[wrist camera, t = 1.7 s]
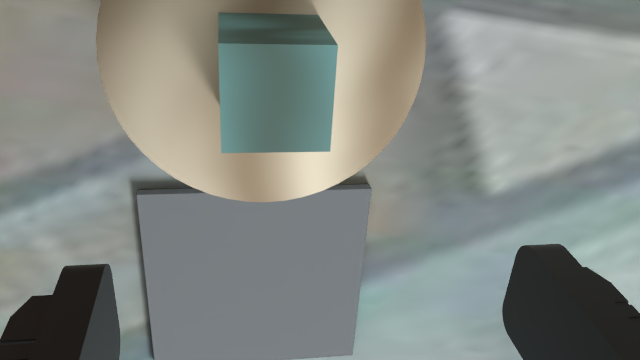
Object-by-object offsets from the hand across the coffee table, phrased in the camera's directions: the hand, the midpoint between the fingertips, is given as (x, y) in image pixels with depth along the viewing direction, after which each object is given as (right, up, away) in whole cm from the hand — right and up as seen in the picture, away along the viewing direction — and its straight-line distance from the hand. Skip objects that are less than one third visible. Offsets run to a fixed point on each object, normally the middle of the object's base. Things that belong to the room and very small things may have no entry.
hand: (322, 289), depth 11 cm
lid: (-2, +8, +14) cm, 16 cm away
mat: (-4, -4, +27) cm, 28 cm away
